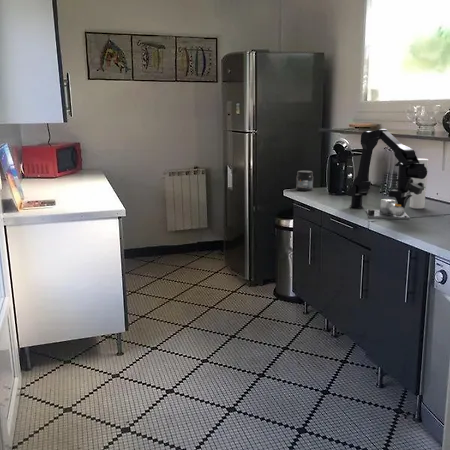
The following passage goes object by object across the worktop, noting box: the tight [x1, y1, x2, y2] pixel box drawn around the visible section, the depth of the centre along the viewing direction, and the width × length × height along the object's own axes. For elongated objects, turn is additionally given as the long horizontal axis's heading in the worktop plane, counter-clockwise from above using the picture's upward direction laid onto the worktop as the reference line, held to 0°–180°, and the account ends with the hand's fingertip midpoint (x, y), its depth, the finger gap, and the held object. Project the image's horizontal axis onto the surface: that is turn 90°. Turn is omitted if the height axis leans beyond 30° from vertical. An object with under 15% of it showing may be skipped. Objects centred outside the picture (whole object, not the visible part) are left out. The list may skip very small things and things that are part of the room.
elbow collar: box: [379, 198, 406, 217], centre depth 229 cm, size 16×7×6 cm, turn 5°
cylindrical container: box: [409, 158, 430, 210], centre depth 252 cm, size 7×7×25 cm
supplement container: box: [295, 170, 314, 192], centre depth 308 cm, size 10×10×12 cm
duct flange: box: [365, 208, 410, 220], centre depth 234 cm, size 16×18×3 cm
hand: (402, 210), depth 226 cm, fingers closed
